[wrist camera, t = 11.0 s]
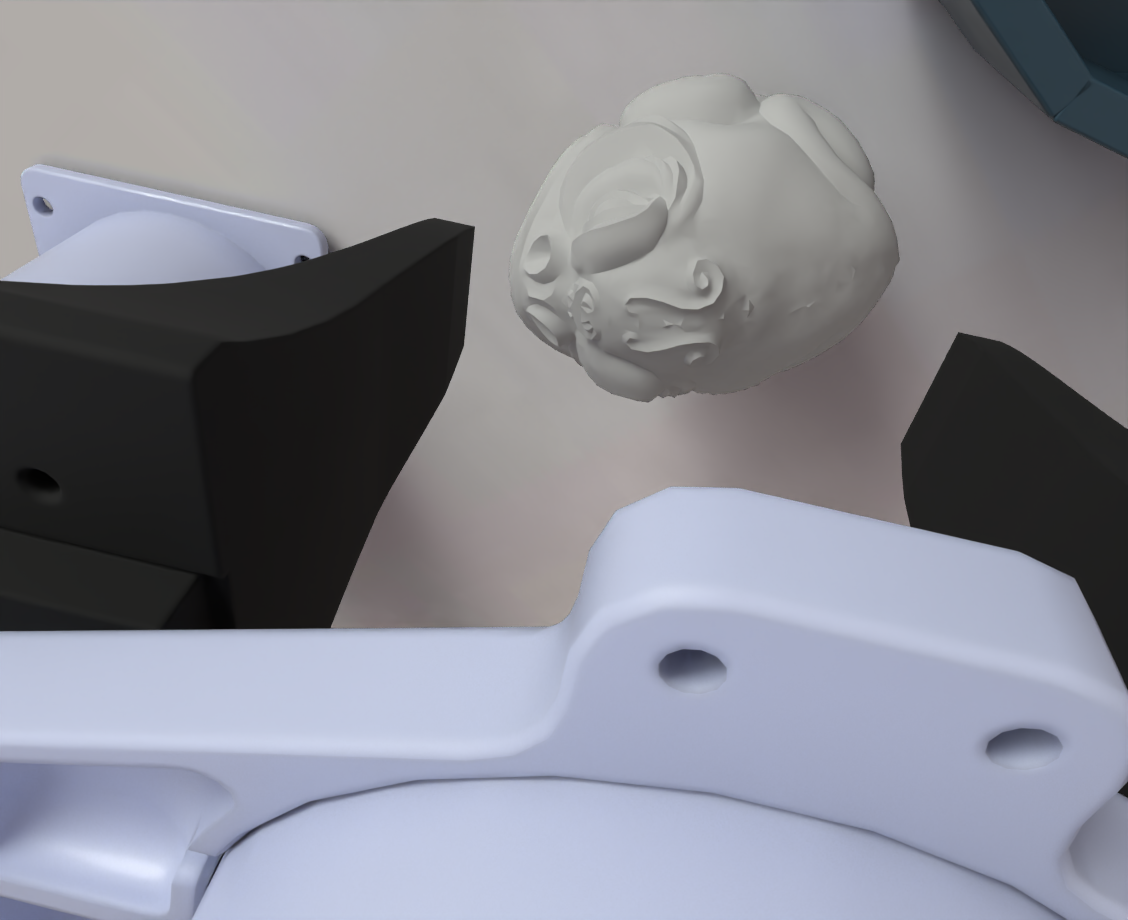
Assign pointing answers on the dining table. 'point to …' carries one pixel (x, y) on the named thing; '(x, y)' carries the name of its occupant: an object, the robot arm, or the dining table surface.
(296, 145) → the dining table surface
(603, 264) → the grey lumpy piece
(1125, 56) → the pan
